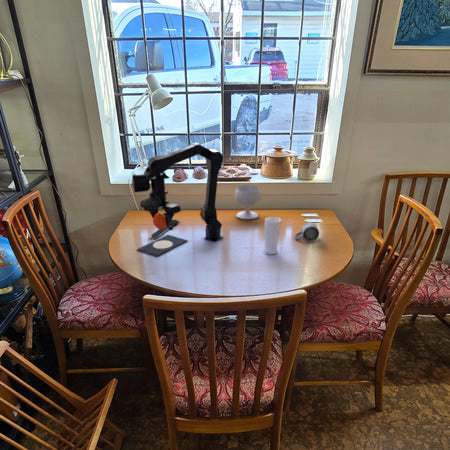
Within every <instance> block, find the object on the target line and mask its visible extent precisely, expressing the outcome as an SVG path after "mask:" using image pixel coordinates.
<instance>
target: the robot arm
mask: <svg viewBox="0 0 450 450" xmlns="http://www.w3.org/2000/svg"><path fill="white" fill-rule="evenodd" d="M197 155H199V156H201V157H203V158H204V159H205V165H206V168H207V176H206V177H207V178H206V189H205V201H204V205H203V206H200V212H199V216H200V219H201V220H202V221H203V222H204V223H205V224H206V225H205V229H204V230H205V236H204V240H207V241H211V242H217V241H220V240H221V239H222V238H223V236H222V234H221V230H222V226H223V223H222V222H221V221H219V219H218V212H217V208H216V199H217V188H218V178H219V173H220V171H221V169H222V166H223V162H224V155H223V153H221V152H220V150H219V151H218V150H217V149H215V148H210V149H209V148H207V147H205V146H203V145H202V144H201V143H198V142H194V143H192V144H190V145H187V146H185V147H183V148H180V149H178V150H176V151H173V152H171V153H168V154H164V155H156V156H152V157H150V158H149V159H148V161H147V166H146V168H145V170H144V172H143V174H132V175H131V185H132V186H131V187H132V191H133V193H143V192H148V191H149V190H150V189H151V192H149V197H147V198H144V199H142V200H141V201H140V202H139V203H140V208H143V210H144V212H148V213H149V214H150V216H151V218H152V219H153V218H154V216H155V215H156V214H157V213H159V209H162V210H164V213H163V214H164V215H165V217H166V224H167V227H169V226H170V223H171V221H172V220H173V218H174V216H175V214H178V213H180V212H181V205H180V204H177V203H170V204H169V200H168V199H167V195H168V194H169V191H168V190H166V183H165V180H166V179H167V180H168V179H170V176H169V175H168V174H167V173H166V171H168V170H169V169H170V168H171V167H172V166H173V165H176V164H179V163H181V162H183V161H185V160H188V159H190V158H193V157H195V156H197ZM171 224H172V223H171Z"/></svg>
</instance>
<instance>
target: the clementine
mask: <svg viewBox="0 0 450 450" xmlns="http://www.w3.org/2000/svg"><path fill="white" fill-rule="evenodd" d="M163 213H165V211H164V212H162V211H161V212H158V213H157V214H156V215H155V216H154V218H152V224H153V225H154V227H155V228H156V229H157V230H159V229H164V228H166V227H167V224H166V217H165V215H164V214H163Z"/></svg>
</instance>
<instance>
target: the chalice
mask: <svg viewBox="0 0 450 450" xmlns="http://www.w3.org/2000/svg"><path fill="white" fill-rule="evenodd" d="M261 199H262V192H261V190H260V188H259V187H258V186H257V185H240V186H238V187H237V188H236V190H235V192H234V200H235V201H236V203H237V204H239V205H241V206H243V207H244V208H245V210H244V211H239V212H237V213H236V215H235V216H236V217H237V218H239V219H241V220H253V219H257V218H258V217H259V213H257V212H255V211H250V208H252V206H255V205H257V204H258V203H260V201H261Z"/></svg>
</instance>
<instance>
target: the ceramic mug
mask: <svg viewBox="0 0 450 450" xmlns="http://www.w3.org/2000/svg"><path fill="white" fill-rule="evenodd" d="M319 237H320V230H319V227H318V226H317V224H316V223H314V222H306V223H305V224H303V226H302V228H301V230H300V231H299V232H296V233H295V234H294V238H295V240H302V239H303V240H304V242H307V243H314V242H316V241H318V239H319Z"/></svg>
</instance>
